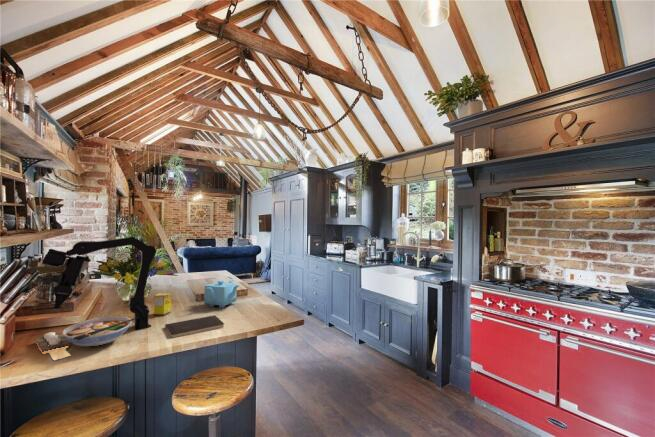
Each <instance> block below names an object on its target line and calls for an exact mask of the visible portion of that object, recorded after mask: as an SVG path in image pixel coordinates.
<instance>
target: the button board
mask: <svg viewBox="0 0 655 437" xmlns="http://www.w3.org/2000/svg"><path fill="white" fill-rule="evenodd" d="M55 335H58V338H61V344H56V345H52V346H48V345H49V342H48V343H46V342H47V339H45V340H44V335H41V336H38V337H37V336H36V337H34V341H35V340H36V342H37V343H38V345H39V347H40V348H41V350H42V352H44V351H48V350H52V349H56V348H61V347H65V346H69V345H70V346H71V342H70V341H69V340H68V339H66V338H65V336H64V335H63V332H55Z"/></svg>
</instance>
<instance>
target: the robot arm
mask: <svg viewBox="0 0 655 437" xmlns="http://www.w3.org/2000/svg"><path fill="white" fill-rule="evenodd" d="M125 246H132V247H134V248H135V249H137V250H139V251H140V252H141V253H140V254H141V256H140V258H141V259H140V260H141V263H140V268H139V272H138V276H137V277H138V278H137V282H136V286H135V287H136V288H135V291H134V293H133V295H132V294H129V301H128V302H127V304H128V305H127V306H128V308H129V310H130V312H131V314H134V318H135V319H134V320H133V321H134V324H133V325H131V328H132V329H133V330H135V331H138V330H142V329H146V328H150V327H152V325H151V324H150V323H149V318H150V317H149V316H150V315H149V313H150V309H149V306H147V305H146V304H145V292H146V286H147V282H148V276H149V272H150V268H151V267H150V266H151V264H152V262H153V260H154V258H155V255H156V253H157V249H156V247H155V246H154V245H152V244H148V243H147V244H146V243H145V242H143V241H142V240H139V239H138V238H137V237H136V236H132V235H130V236H129V237H128V236H127V237H121V238H115V239H114V238H113V239H105V240H99V241H98V240H97V241H95V240H93V241H92V240H87V241H86V240H81V241H78V242H76V243H74V244H73V246H72V248H71V249H67V250H66V251H62V250H57V249H54V248H50V249H48V252H46V255H45V256H44V257H43V260H42V262H41V264H42V265H44V266H49V267H55V268H60V267H61V266H64V269H63V270H62V271H61V272H60V273H59V272H58V273H46V274H44V275H42V276H41V283H42V285H47V284H51V283H56V284H55V285H54V286H53V287H52V290H51V293H52V294H53V295H54V296H55V298H54V299H55V300H54V301H55V302H54V307H53V308H54V309H55V310H58V309H59V308H60V307H61V306H62V305H63V304H64V303H65V302H66V300H68V298H69V297H71V296H72V294H73V292H74V290H75V289H76V288H77V286H78V284H79V282H78V279H79V277H80V275H81V272H82V270H83V267H84V265H85V262H87V263H90V262H92V260H91V258H90V256H89V255H87V254H91V253H94V252H97V251H101V250H106V249H113V248H121V247H125ZM74 255H75V256H74ZM84 255H86V256H84ZM137 317H138V318H137ZM136 318H137V319H136Z"/></svg>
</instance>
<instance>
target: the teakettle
mask: <svg viewBox="0 0 655 437" xmlns="http://www.w3.org/2000/svg"><path fill="white" fill-rule="evenodd" d="M240 286H241V285H240V284H237V283H236V282H234V279H231V280H229V281H228V282H227V281H226V282H225V281H224V280H217V281H216V282H213V283H209V284H206V285H204V302H203V304H205V305H208V306H209V307H210V308H213V307H215V306H219V307H218V308H219V309H224V308H225V306H230V305H232V303H234V302H236V301H237V289H238V288H239V287H240Z"/></svg>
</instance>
